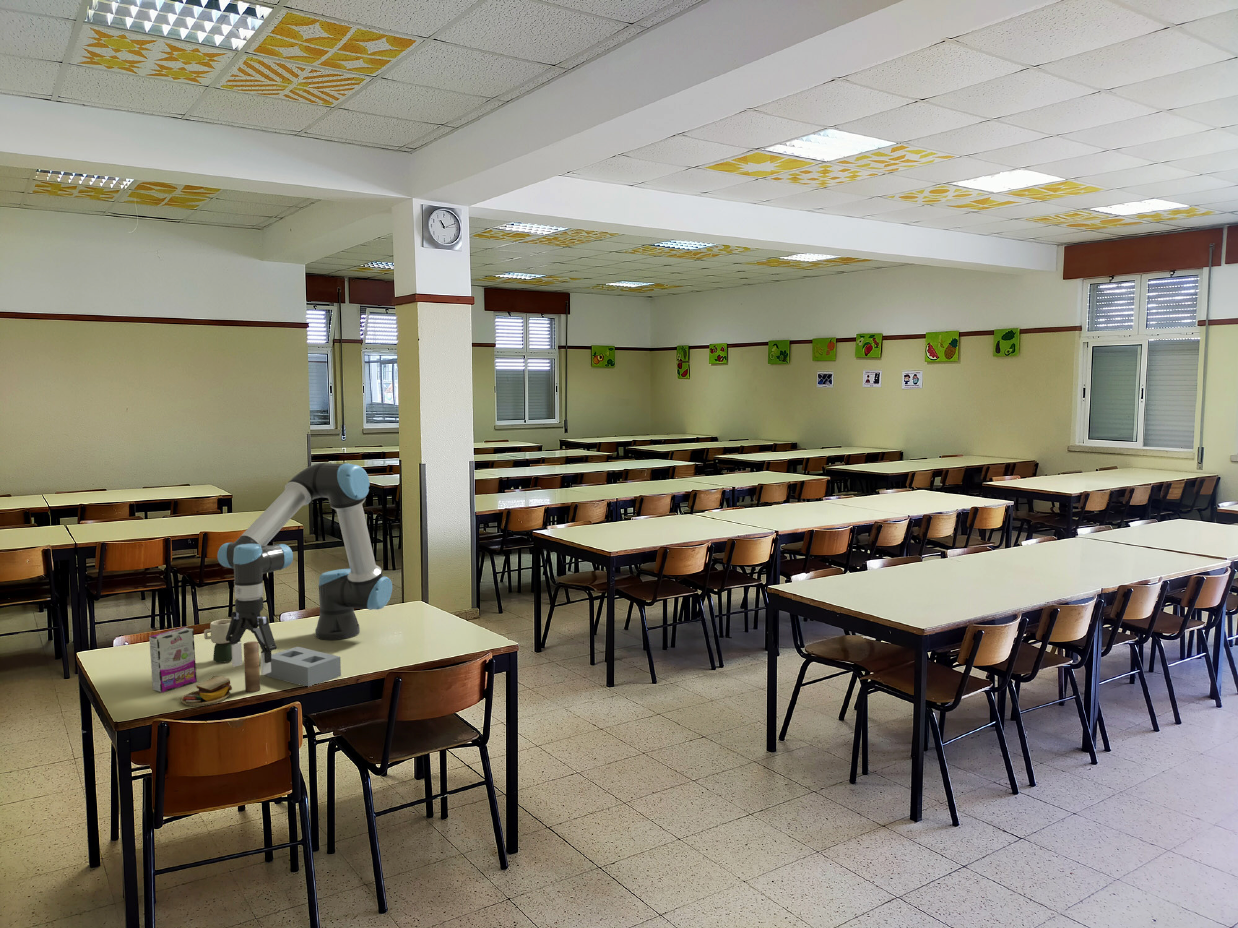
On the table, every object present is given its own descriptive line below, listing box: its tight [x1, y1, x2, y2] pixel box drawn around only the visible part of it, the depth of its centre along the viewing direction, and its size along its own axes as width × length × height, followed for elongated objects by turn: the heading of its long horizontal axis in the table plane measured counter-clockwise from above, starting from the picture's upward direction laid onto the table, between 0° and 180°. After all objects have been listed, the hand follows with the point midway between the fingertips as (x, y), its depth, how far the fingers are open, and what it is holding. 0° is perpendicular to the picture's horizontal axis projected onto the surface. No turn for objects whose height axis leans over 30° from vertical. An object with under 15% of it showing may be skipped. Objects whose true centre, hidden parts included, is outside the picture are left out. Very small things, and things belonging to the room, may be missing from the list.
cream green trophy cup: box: [203, 618, 232, 663], centre depth 277 cm, size 11×7×13 cm, turn 122°
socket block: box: [264, 646, 342, 688], centre depth 263 cm, size 20×12×6 cm, turn 58°
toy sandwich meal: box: [180, 675, 233, 707], centre depth 244 cm, size 12×14×5 cm
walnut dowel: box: [243, 641, 261, 693], centre depth 250 cm, size 4×4×14 cm
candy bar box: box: [148, 626, 198, 694], centre depth 253 cm, size 11×5×16 cm, turn 148°
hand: (251, 669), depth 250 cm, fingers open, 13 cm apart
